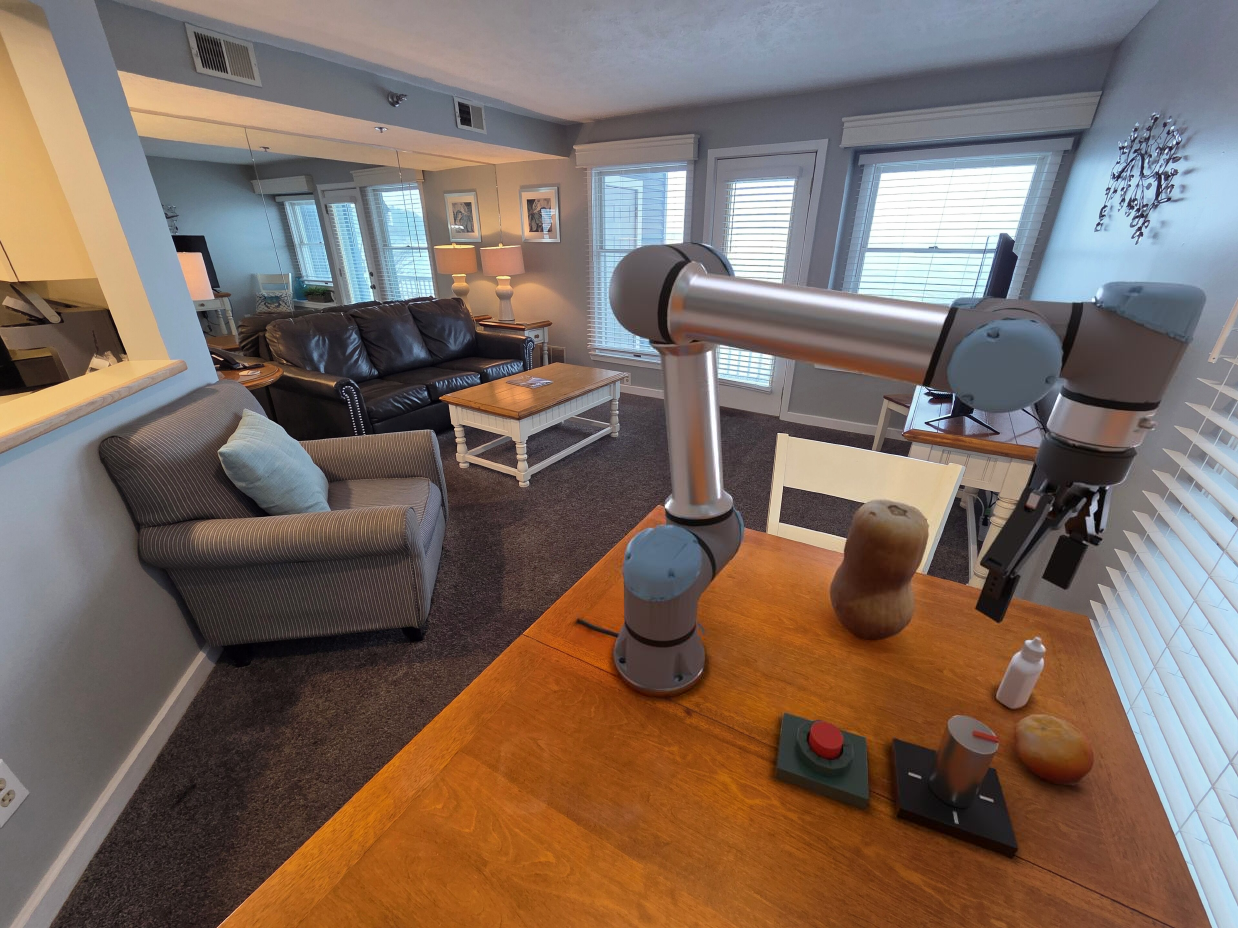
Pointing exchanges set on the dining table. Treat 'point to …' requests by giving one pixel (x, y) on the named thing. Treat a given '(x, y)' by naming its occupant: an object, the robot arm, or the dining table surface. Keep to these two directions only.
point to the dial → (962, 760)
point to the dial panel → (921, 806)
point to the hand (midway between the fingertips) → (1022, 598)
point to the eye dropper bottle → (1022, 674)
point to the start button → (825, 740)
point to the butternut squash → (879, 569)
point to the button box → (823, 763)
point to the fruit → (1053, 749)
